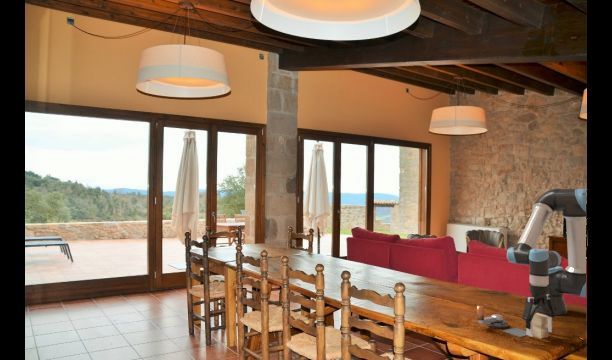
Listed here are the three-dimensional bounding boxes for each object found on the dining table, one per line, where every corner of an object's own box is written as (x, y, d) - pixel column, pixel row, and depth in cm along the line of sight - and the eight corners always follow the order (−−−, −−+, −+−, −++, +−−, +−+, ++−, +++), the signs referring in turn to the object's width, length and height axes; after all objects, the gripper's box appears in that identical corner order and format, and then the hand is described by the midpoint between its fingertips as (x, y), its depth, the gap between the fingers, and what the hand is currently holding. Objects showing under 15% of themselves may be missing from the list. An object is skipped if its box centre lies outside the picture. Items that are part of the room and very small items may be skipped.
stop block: (537, 333, 199) (537, 313, 199) (548, 336, 194) (548, 316, 194) (530, 335, 196) (530, 314, 196) (540, 338, 192) (540, 317, 192)
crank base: (495, 321, 215) (495, 317, 215) (511, 326, 207) (511, 322, 207) (482, 324, 211) (482, 320, 211) (498, 329, 203) (498, 325, 203)
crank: (496, 318, 212) (496, 301, 212) (505, 321, 208) (505, 304, 208) (473, 323, 206) (473, 305, 206) (482, 326, 201) (482, 308, 201)
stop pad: (515, 328, 205) (515, 327, 205) (533, 334, 197) (533, 333, 197) (502, 331, 201) (502, 330, 201) (519, 337, 193) (519, 336, 193)
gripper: (548, 280, 204) (548, 326, 204) (512, 285, 193) (513, 335, 193) (564, 283, 197) (564, 331, 197) (528, 289, 186) (528, 340, 186)
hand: (539, 333), depth 195 cm, fingers open, 12 cm apart
